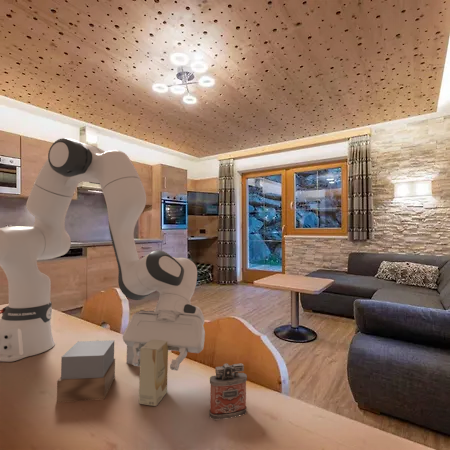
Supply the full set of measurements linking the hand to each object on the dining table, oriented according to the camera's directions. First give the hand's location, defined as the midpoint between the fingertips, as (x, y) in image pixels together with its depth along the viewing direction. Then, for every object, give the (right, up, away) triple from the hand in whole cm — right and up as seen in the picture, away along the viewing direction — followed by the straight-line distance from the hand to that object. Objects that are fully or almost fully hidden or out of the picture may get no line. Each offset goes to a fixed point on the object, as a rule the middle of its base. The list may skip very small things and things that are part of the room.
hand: (154, 367), depth 65 cm
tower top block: (-17, -2, +3) cm, 17 cm away
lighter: (+17, -7, -5) cm, 19 cm away
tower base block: (-17, -7, +3) cm, 19 cm away
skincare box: (0, -7, 0) cm, 7 cm away
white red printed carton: (-9, -8, +19) cm, 22 cm away
